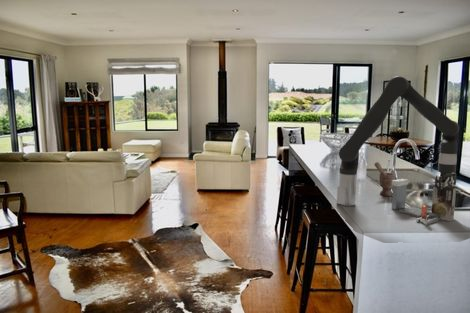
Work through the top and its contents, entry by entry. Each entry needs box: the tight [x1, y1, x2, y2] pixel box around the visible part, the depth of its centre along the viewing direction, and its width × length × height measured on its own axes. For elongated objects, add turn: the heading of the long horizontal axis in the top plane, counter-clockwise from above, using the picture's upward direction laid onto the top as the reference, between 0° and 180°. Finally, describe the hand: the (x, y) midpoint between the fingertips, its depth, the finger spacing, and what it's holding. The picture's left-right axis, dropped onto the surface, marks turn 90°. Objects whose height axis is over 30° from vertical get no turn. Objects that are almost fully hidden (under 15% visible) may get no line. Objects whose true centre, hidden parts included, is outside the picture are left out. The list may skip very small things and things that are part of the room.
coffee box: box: [430, 183, 457, 222], centre depth 186 cm, size 9×6×16 cm
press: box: [391, 178, 440, 226], centre depth 192 cm, size 18×25×15 cm
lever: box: [419, 204, 429, 224], centre depth 180 cm, size 2×2×8 cm
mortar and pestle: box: [374, 161, 396, 197], centre depth 228 cm, size 12×9×20 cm
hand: (444, 195), depth 186 cm, fingers open, 8 cm apart
